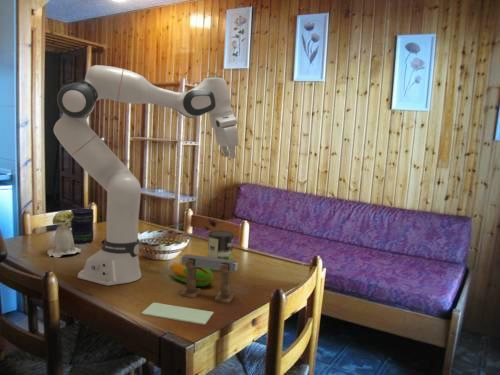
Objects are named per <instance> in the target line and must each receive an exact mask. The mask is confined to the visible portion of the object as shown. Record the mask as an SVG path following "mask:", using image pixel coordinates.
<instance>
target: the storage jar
mask: <svg viewBox="0 0 500 375" xmlns="http://www.w3.org/2000/svg"><path fill="white" fill-rule="evenodd" d="M70 212H73V214H74V217H73V219H72V220H71V232H72V236H73V241H74V245H87V244H86V243H89V244H91V243H90V242H92V241H93V242H94V229H93V228H94V209H92V208H87V207H86V208H85V207H83V208H79V207H78V208H72V209H71V210H70ZM93 242H92V243H93Z"/></svg>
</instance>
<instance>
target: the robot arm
mask: <svg viewBox="0 0 500 375" xmlns="http://www.w3.org/2000/svg"><path fill="white" fill-rule="evenodd" d="M99 100H110V101H114V102H117V103H118V102H119V103H123V104H124V103H125V104H134V105H142V104H148V105H149V104H151V105H157V106H160V107H164V108H168V109H172V110H175V111H177V112H178V113H179V114H181V115H182V116H184V117H185V118H187V119H188V118H189V119H190V118H191V119H193V118H197V117H200V116H201V117H202V116H203V115H205V114H207V113H208V114H209V120H210V126H211V128H213V129H214V135H215V139H216V143H217V145H218V146H220V147H221V148H220V149H222V153H223V156H224V157H229V158H230V159H231V160H233V159H236V147H237V146H239V141H240V140H239V134H238V128H237V124H238V120H237V118H236V117H235V115H234V111H233V108H232V105H231V94H230V91H229V86H228V83H227V81H226V80H225V79H224V77H221V76H207V77H205V78H204V79H203V80H202V81H201V82H199V84H198V85H196V86H195V87H193V88H191V89H190V90H188V91H183V92H177V91H173V90H170V89H165V88H162V87H158V86H156V85H154V84H152V83H151V82H150V81H149V80H148V79H147V78H145V77H144V76H143V75H141V74H139V73H136V72H134V71H131V70H128V69H126V68H120V67H117V66H116V67H115V66H109V65H103V64H102V65H99V64H95V65H92V66H90V67H89V69H88V70H87V72H86V74H85V78H84V80H80V81H76V82H72V83H69V84H66V85H64V86H63V87H61V89H60V90H59V91H58V93H57V98H56V103H57V106H58V108H59V111H61V112H62V116H61V117H60V118H59V119H57V121H56V122H55V124H54V126H53V134H54V135H55V137H56V139H57V140H58V141H59V143H60V144H61V145H62V147H63V148H64V149H65V151H66V152H67V153H68V154H69V155H70V156H71V157H72V158H73V159H74V160H75V162H76V163H78V165H79V166H80V167H82V169H83V170H84V171H85V172H86V173H87V174H88V175H89V176H90V177H91V178H93V180H94V181H96V182H97V183H98V185H100V186H101V187H102V188H103V189H104V190H105V191H106V192H107V194H106V200H107V201H106V216H105V219H106V222H105V223H106V224H105V226H106V227H105V231H106V232H105V238H104V239H103V240H101V241H99V244H98V245H99V246H101V245H102V246H101V248H100V249H99V250H98V251H96V252H94V254H92V255H91V256H89V257H88V258H87V259H86V261H85V263H84V267H83V269H82V270H80V271H79V272H78V274H77V279H81V280H85V281H88V282H92V283H97V284H100V285H103V286H104V285H105V286H113V285H114V286H115V285H118V284H119V285H121V284H128V283H133V282H135V281H139V279H141V278H142V276H143V274H142V272H141V271H142V270H141V267H140V261H139V252H140V239H139V215H140V206H141V193H142V192H141V191H142V188H141V183H140V181H139V180H138V178H136V176H135V175H134V174H133V173H132V171H131V170H130V169H129V168H128V167H127V166H126V165H125V164H124V163H123V161H121V159H120V158H118V156H117V155H116V154H115V153H114V152H113V151H112V149H110V148H109V146H108V145H107V143H105V142H104V141H103V140H102V139H101V138H100V137H99V136H98V135H97V133H96V132H95V131H94V130H93V128H92V127H90V125H89V124H88V122H87V119H88V117H89V116H90V114H91V113H92V112H93V111H94V109H95V105H96V102H97V101H99Z"/></svg>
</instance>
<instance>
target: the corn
mask: <svg viewBox="0 0 500 375" xmlns="http://www.w3.org/2000/svg"><path fill="white" fill-rule="evenodd" d="M170 271H171V272H173V273H174V275H173V274H171V275H170V276H171V277H172V278H174V279H176V280H178V281H180V282H183V283H185V284H187V267H186V266H184V265H182V264H181V263H174V264H172V265H170ZM213 281H214V275H213V272H212V269H206V268H199V267H196V287H198V288H201V287H205V286H208V285H211V284H212V283H213Z"/></svg>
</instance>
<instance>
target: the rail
mask: <svg viewBox="0 0 500 375" xmlns="http://www.w3.org/2000/svg"><path fill="white" fill-rule="evenodd" d="M186 260H194V262H193V267H199V268H206V269H210V270H212V269H214V270H213V271H218V270H220V266H221V264H225V265H228V272H230V273H234V272H237V271H238V268H239V262H237V260H235V259H232V260H227V259H220V258H212V257H208V256H205V255H204V256H202V255H195V254H189V253H186V254H184V255H183V254H182V255H181V257H180V264H182V265H184V266H186Z"/></svg>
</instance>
